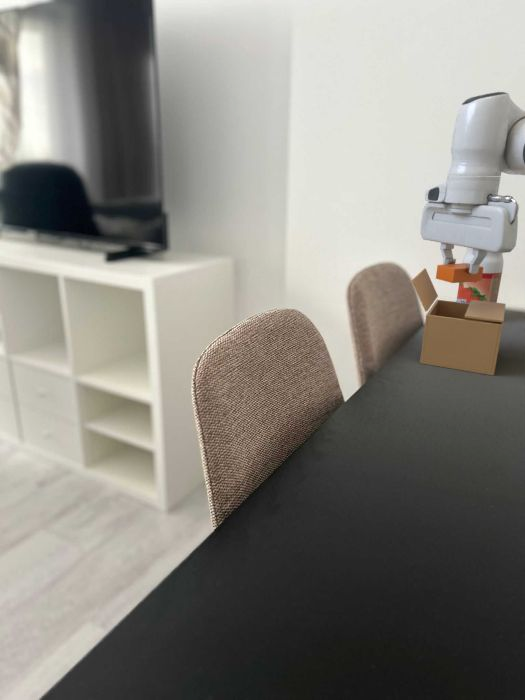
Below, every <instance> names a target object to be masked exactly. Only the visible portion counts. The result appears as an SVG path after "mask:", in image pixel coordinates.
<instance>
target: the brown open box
mask: <svg viewBox="0 0 525 700" xmlns="http://www.w3.org/2000/svg"><path fill="white" fill-rule="evenodd" d="M505 313H506V303H503V302H497V303H495V302H486V301H477V300H471V302H470V303H461V302H456V301H452V300H443V299H436V300H435V301H434V302H433V304H432V305H431V307H430V308H429V309H428V311H427V313H426V315H425V319H424V320H425V321H424V328H423V335H422V343H421V351H420V358H419V364H421V365H422V364H423V365H428V366H434V367H440V368H446V369H450V370H451V369H452V370H458V371H465V372H469V373H470V372H471V373H476V374H482V375H488V376H493V377H495V371H496V367H497V366H496V365H497V361H498V355H499V350H500V344H501V339H502V333H503V328H504V321H505Z"/></svg>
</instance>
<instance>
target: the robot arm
mask: <svg viewBox="0 0 525 700" xmlns="http://www.w3.org/2000/svg"><path fill="white" fill-rule="evenodd" d="M450 155H451V163H450V167H449V169H448V171H447V176H446V181H444V182H442V183H440V184H438V185H435V186H433V187H430V188H428V189H426V190H425V193H424V200H425V201H426V202H427V203H425V205H424V207H423V209H422V214H421V221H420V235H421V238H422V240H425V241H429V242H436V243H440V248H439V249H440V253H441V256H442V259H443V260H442V265H445V264H457V258H454V254H453V249H454V248H455V246H457V247H463V248H467V247H468V248H473V251H472V255H474V257H473V259H472V260H471V262H470V263H466V273H470V274H477V273H478V271H479V265H480V264H481V262H482V261H483V260H484V258H485V257H486V255H487V251H490V252H496V253H503V254H504V253H505V254H506V253H511V252H512V251H513V250H514V249H515V247H516V246H517V240H518V225H519V217H518V215H519V208H520V206H519V204H518V201H517V200H516V199H515V198H514V197H513V196H511V195H500V194H499V189H500V184H501V183H500V182H501V176H502V173H503V174H507V175H515V176H516V175H517V176H525V110H524V109H522V108H520V107H519V106H518V105H517V104H516V103H515V102H514V101H513V100H512V99H511V95H510V94H509V93H508V92H505V91H497V92H491V93H490V92H489V93H485V94H480V95H476V96H472V97H469V98H466V100H465V101H463V102H462V103H461V105H460V106H459V109H458V112H457V114H456V118H455V123H454V127H453V132H452V138H451V146H450Z"/></svg>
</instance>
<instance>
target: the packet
mask: <svg viewBox="0 0 525 700" xmlns="http://www.w3.org/2000/svg"><path fill="white" fill-rule="evenodd" d="M436 266H437V267H436V272H435V279H436V280H440V281H443V282H446V283H451V284H459V283H461V282H473V281H481V280H482V274H483V268H484V267H481V266H479V271H478V273H477V274H470V273H466V263H462V262H461V263H455V264H445V265H443V264H437V265H436Z"/></svg>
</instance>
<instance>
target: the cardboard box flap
mask: <svg viewBox="0 0 525 700" xmlns="http://www.w3.org/2000/svg"><path fill="white" fill-rule="evenodd" d="M411 283H412V285H413V287H414V289H415V292H416V294H417V296H418V298H419V300H420V303H421V306H422V308H423V309H424V312H429V310H430V309H431V308H432V306H433V305H434V303H435V302H436V300H437V298H438V297H439V296H438V293H437V291H436V288H435V286H434V284H433V281H432V279H431V277H430V275H429V273H428V270H427V268H423V269H422V270H421V271H420V272H419V273H418V274H417V275H416V276H414V278H412V279H411Z"/></svg>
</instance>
